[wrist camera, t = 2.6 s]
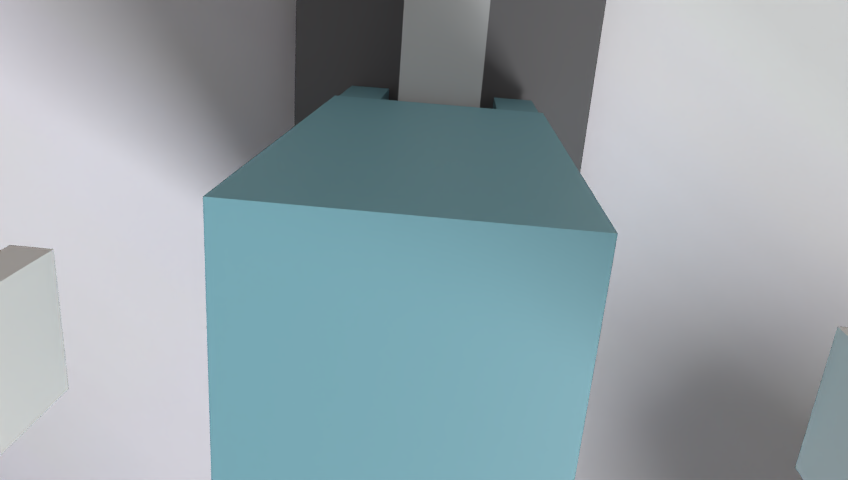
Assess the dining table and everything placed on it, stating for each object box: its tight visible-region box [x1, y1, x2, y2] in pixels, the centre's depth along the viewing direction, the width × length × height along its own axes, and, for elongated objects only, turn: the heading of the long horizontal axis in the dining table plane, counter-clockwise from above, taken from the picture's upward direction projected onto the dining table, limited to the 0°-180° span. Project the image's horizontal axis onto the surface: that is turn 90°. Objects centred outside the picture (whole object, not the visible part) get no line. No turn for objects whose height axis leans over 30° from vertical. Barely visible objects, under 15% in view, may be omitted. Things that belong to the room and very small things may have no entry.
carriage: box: [203, 86, 618, 480], centre depth 15 cm, size 5×7×11 cm
